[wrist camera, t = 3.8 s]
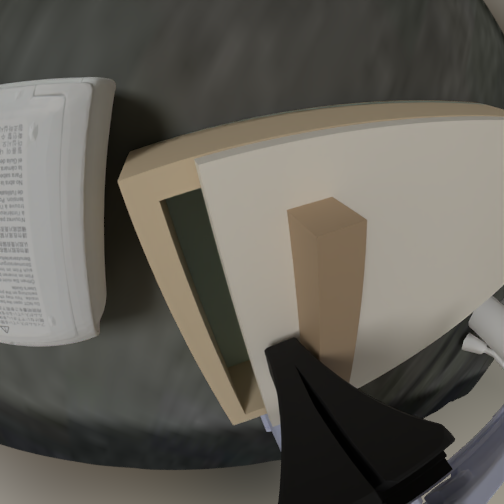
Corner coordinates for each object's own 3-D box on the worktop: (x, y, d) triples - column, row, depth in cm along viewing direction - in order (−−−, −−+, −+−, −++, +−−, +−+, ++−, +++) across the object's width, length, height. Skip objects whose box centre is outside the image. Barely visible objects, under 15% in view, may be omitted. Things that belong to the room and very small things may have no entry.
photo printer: (-54, 99, 6) (-26, 303, 12) (-104, 111, 3) (-48, 352, 8) (122, 78, 10) (115, 310, 16) (109, 70, 7) (113, 368, 12)
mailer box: (457, 257, 25) (491, 283, 21) (214, 369, 21) (233, 425, 16) (477, 102, 16) (525, 117, 12) (129, 151, 12) (117, 181, 8)
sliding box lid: (502, 276, 21) (519, 290, 19) (268, 417, 17) (283, 450, 15) (535, 118, 12) (560, 129, 10) (193, 159, 8) (211, 184, 6)
